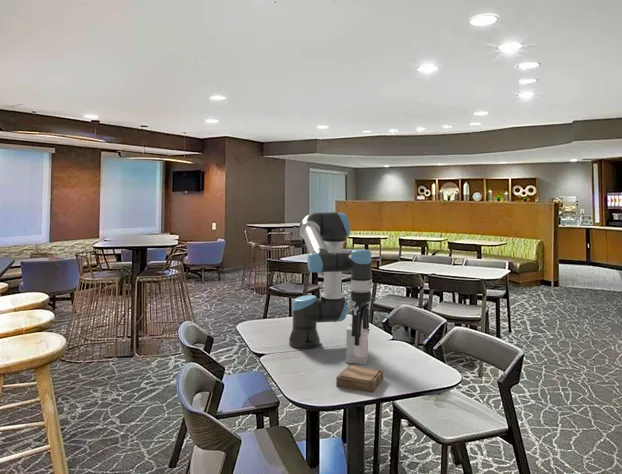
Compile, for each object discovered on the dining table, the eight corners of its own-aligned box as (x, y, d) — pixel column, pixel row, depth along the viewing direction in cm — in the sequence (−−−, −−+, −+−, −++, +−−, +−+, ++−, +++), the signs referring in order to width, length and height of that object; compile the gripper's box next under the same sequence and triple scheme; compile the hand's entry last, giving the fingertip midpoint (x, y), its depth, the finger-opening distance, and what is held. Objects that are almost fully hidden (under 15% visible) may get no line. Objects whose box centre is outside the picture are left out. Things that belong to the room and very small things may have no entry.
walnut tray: (349, 373, 176) (349, 363, 176) (382, 379, 170) (383, 369, 170) (336, 386, 163) (336, 376, 163) (372, 393, 157) (372, 382, 157)
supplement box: (366, 364, 186) (367, 330, 185) (345, 363, 188) (346, 329, 187) (368, 357, 195) (368, 324, 194) (348, 356, 197) (348, 323, 196)
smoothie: (364, 359, 162) (364, 322, 161) (349, 356, 165) (349, 320, 164) (371, 354, 167) (372, 318, 166) (356, 351, 170) (356, 316, 169)
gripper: (362, 296, 154) (361, 360, 156) (377, 287, 171) (377, 344, 173) (342, 294, 157) (342, 357, 159) (359, 285, 175) (359, 342, 176)
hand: (360, 350), depth 166 cm, fingers closed on smoothie, 6 cm apart
